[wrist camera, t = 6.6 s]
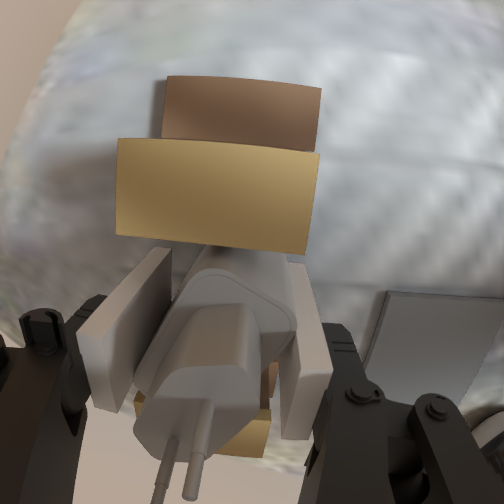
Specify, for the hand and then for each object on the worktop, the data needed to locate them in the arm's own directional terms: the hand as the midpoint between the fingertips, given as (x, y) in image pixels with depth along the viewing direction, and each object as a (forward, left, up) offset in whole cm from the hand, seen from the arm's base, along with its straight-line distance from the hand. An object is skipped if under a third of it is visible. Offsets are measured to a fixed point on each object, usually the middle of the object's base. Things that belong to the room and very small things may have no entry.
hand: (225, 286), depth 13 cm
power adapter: (0, 0, -2) cm, 2 cm away
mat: (+7, +14, -3) cm, 16 cm away
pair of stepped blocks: (0, 0, -3) cm, 3 cm away
